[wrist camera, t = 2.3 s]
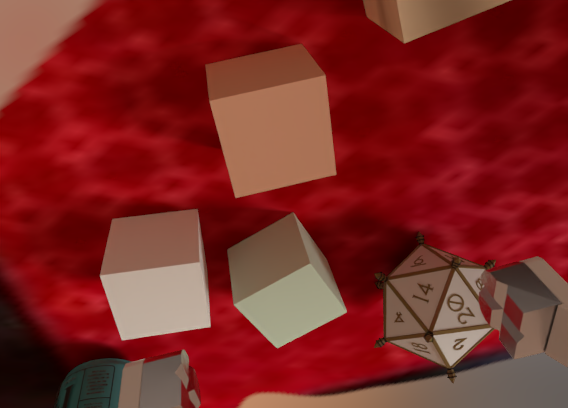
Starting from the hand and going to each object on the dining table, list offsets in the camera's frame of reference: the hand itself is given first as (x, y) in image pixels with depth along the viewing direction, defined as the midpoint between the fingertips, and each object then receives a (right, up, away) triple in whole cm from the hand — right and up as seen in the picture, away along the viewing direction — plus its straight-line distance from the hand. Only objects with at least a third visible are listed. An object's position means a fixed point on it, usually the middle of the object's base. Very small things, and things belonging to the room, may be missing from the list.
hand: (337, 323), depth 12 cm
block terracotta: (-3, +9, +12) cm, 16 cm away
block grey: (-9, +1, +17) cm, 19 cm away
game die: (+8, -1, +22) cm, 23 cm away
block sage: (-2, 0, +19) cm, 19 cm away
